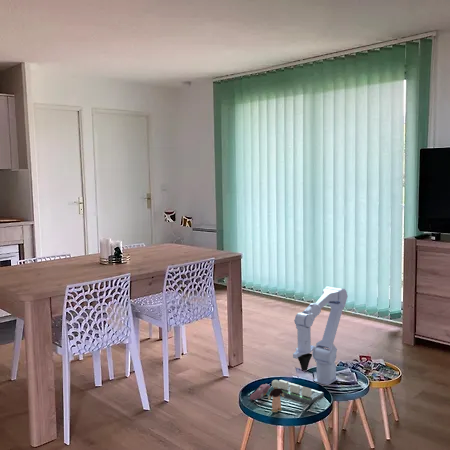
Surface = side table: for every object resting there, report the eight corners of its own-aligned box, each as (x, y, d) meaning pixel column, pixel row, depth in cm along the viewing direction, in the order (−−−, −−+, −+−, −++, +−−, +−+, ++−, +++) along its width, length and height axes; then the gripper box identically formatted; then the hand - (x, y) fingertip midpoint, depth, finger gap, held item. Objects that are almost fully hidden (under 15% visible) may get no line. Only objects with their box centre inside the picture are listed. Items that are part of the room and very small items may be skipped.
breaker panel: (287, 385, 233) (287, 381, 233) (323, 395, 220) (323, 392, 220) (273, 392, 225) (273, 389, 225) (309, 404, 212) (309, 400, 212)
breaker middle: (292, 390, 223) (292, 383, 222) (299, 392, 220) (299, 385, 220) (289, 391, 221) (289, 384, 221) (297, 393, 219) (297, 386, 218)
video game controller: (256, 405, 216) (262, 392, 214) (248, 398, 218) (254, 385, 216) (267, 397, 224) (274, 384, 222) (259, 390, 226) (265, 378, 224)
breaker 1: (281, 386, 227) (280, 379, 226) (288, 388, 224) (288, 381, 224) (278, 387, 226) (278, 380, 225) (286, 390, 223) (286, 382, 223)
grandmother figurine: (278, 406, 211) (278, 376, 210) (285, 409, 208) (285, 378, 207) (265, 411, 206) (265, 381, 205) (272, 414, 203) (272, 384, 202)
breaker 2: (303, 393, 219) (303, 386, 218) (311, 396, 216) (311, 388, 216) (301, 394, 217) (301, 387, 217) (309, 397, 215) (309, 389, 214)
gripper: (305, 334, 233) (305, 363, 234) (287, 342, 222) (287, 372, 223) (318, 337, 228) (319, 367, 229) (300, 345, 217) (300, 376, 218)
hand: (304, 370), depth 226 cm, fingers closed
